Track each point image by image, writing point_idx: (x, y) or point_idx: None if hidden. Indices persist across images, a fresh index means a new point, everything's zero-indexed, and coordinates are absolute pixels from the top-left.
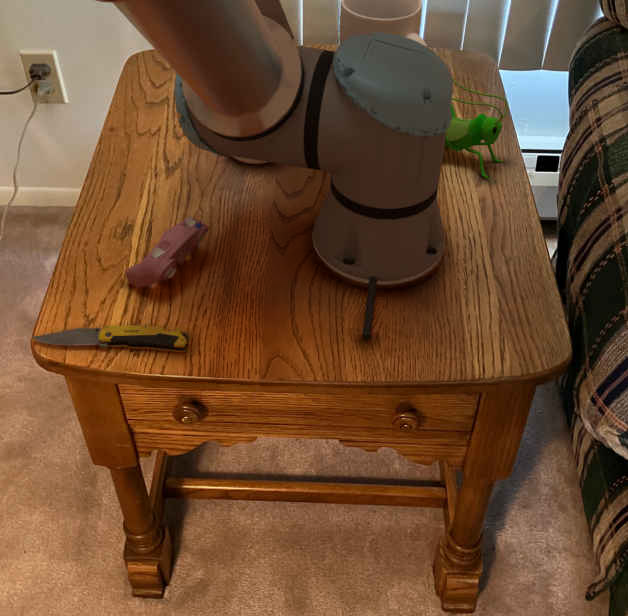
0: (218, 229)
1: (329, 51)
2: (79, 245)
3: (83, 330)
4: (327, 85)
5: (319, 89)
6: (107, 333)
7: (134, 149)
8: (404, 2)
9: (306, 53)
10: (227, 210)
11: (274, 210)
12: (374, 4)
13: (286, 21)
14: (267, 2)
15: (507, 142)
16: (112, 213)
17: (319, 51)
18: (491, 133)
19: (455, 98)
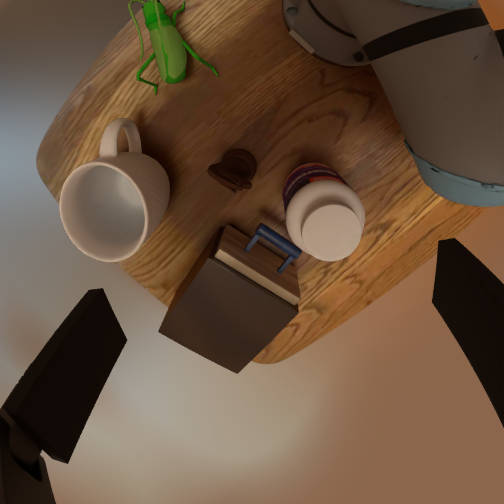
0: None
1: (443, 28)
2: (479, 207)
3: None
4: (478, 5)
5: (483, 13)
6: None
7: (380, 270)
8: (71, 208)
9: (474, 48)
10: (396, 147)
11: (370, 113)
12: (93, 237)
13: (191, 285)
14: (179, 324)
15: (120, 35)
16: (447, 217)
17: (457, 36)
18: (161, 3)
19: (162, 36)
